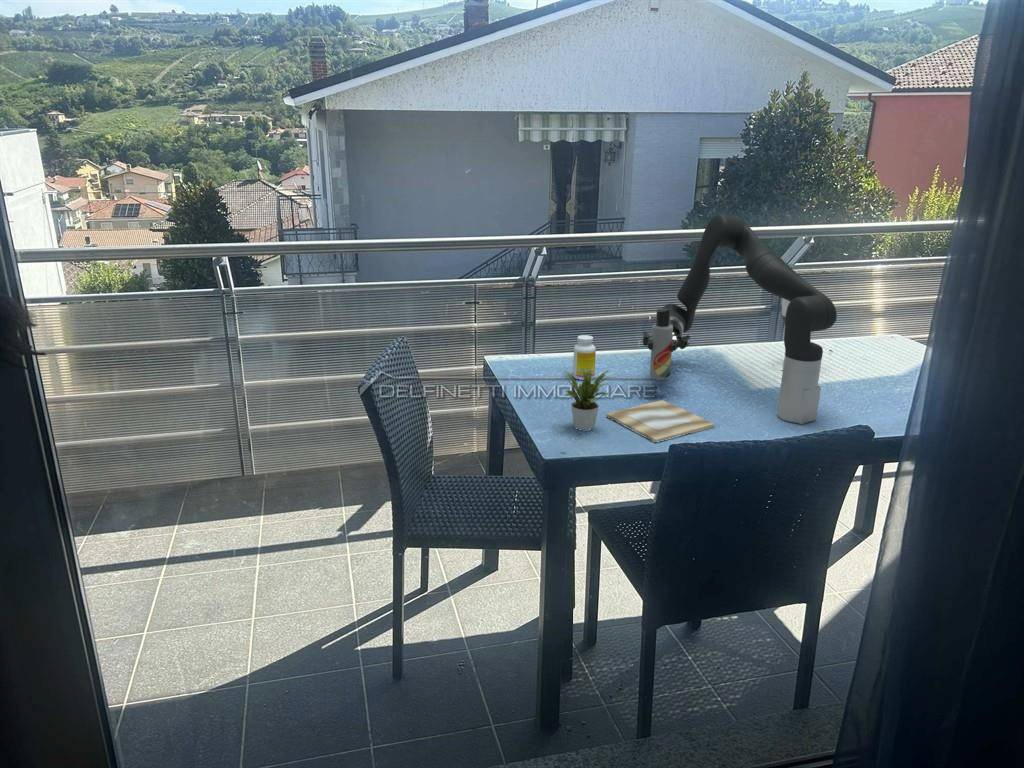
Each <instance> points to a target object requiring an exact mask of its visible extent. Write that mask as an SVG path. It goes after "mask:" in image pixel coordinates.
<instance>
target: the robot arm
mask: <svg viewBox="0 0 1024 768" xmlns="http://www.w3.org/2000/svg"><path fill="white" fill-rule="evenodd" d="M719 247H722V248H726V249H729V250H732V251H734V252H736V253H738V254H739V255H740V257H742V258H743V260H744V264H745V270H746V273H747V275H748V276H749V277H750V278H751V279H752V281H753V282H755V283H756V285H758V287H760V288H761V289H762V290H764V291H766V292H768V293H770V294H772V295H774V296H776V297H778V298H781V299H782V298H783V299H786V300H788V301H790V303H789V305H788V307H787V311H786V319H785V322H784V334H783V335H784V336H783V344H784V348H785V350H784V351H785V352H784V359H783V364H784V365H783V371H781V372H782V374H781V382H780V387H779V388H780V389H779V395H778V396H779V397H778V405H777V413H776V416H777V417H778V418H779V419H781V420H783V421H785V422H790V423H796V424H798V425H799V424H800V425H804V424H807V423H810V422H811V423H812V422H814V421H817V416H818V409H819V404H820V396H821V390H822V389H821V388H822V387H821V386H820V385H819V379H820V373H821V372H820V371H821V366H822V360H823V353H824V350H823V347H822V346H821V345H820V344H817V343H815V342H812V341H811V333H812V332H820V331H825V330H828V329H830V328H832V327H833V326H834V325H835V323H836V322H837V317H838V316H837V309H836V307H835V304H834V303H833V301H832V300H831V299H830V298H829V297H828V296H827V295H825V293H823V292H821V291H820V290H818V289H817V288H816V287H814V286H813V285H811V284H810V283H809V282H807V281H806V280H805V279H804V278H803V277H802V276H801V275H800V274H799V273H797V272H796V271H795V270H794V269H793V268H792V267H791V266H790V265H789V264H788V263H787V262H785V260H784V259H782V258H781V257H780V256H779V255H778V254H777V253H776V252H774V250H773V249H771V248H770V247H769V246H768V245H767V244H766V243H765V242H763V241H762V240H761V239H760V238H759V237H758V235H757V234H756V233H755V232H754V231H753V229H752V228H751V227H750V226H749V225H748V223H747V222H746V221H745V220H744V219H742V218H740V217H738V216H732V215H729V214H725V213H724V214H723V213H717V214H714V215H713V216H712V217H711V218H710V219H709V221H708V223H707V224H706V226H705V229H704V232H703V234H702V237H701V239H700V242H699V244H698V248H697V249H696V250H697V251H696V254H695V255H694V259H693V263H692V265H691V267H690V269H689V272H688V273H687V276H686V278H685V280H684V281H683V283H682V284H681V287H680V288H679V290H678V292H677V294H676V297H677V300H678V301H679V302H680V303H681V304H682V305H683V306H685V308H686V309H685V308H684V307H681V306H679V305H677V304H675V303H667V304H665V305H664V306H663V308H668V309H669V310H670V325H672V326H673V337H672V343H671V350H670V352H672V353H674V352H676V351H677V350H678V349H680V350H684V349H686V348H687V347H689V345H690V342H691V341H690V340H691V336H690V335H689V334H687V335H685V336H684V333H687V332H689V331H690V329H692V327H693V324H694V320H695V314H696V311H697V307H698V305H699V303H700V301H701V299H702V298H703V295H704V294H705V292H706V290H707V288H708V286H709V283H710V276H711V260H712V257H713V254H714V253H715V252H716V250H717V249H718V248H719ZM652 343H653V342H652V334H649V333H648V331H643V332H642V345H643V346H645V347H646V346H647V349H649V351H651V350H652Z"/></svg>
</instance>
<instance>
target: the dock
mask: <svg viewBox="0 0 1024 768" xmlns="http://www.w3.org/2000/svg"><path fill="white" fill-rule="evenodd" d="M606 416H607V417H609V418H611V419H613V420H615V421H617V422H619V423H621V424H623V425H626V426H627V427H629V428H631V429H633V430H635V431H636V432H638V433H640V434H642V435H644V436H646V437H647V438H649V439H651V440H653V441H655V442H657V441H661V440H665V439H668V438H672V437H675V436H678V435H683V434H688V433H692V434H695V433H699V432H702V431H706V430H709V429H713V428H715V423H714V422H711V421H709V420H707V419H705V418H703V417H701V416H699V415H696V414H694V413H693V412H690V411H688V410H685V409H683V408H681V407H678V406H676V405H674V404H672V403H670V402H667V401H665V400H664V399H662V400H657V401H653V402H648V403H646V404H645V403H644V404H640V405H636V406H632V407H629V408H623V409H620V410H615V411H611V412H608V413H606V414H605V417H606ZM607 417H606V418H607ZM609 418H608V419H609ZM611 419H610V420H611ZM613 420H612V421H613ZM694 432H695V433H694ZM688 435H689V434H688ZM647 438H646V439H647Z"/></svg>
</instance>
